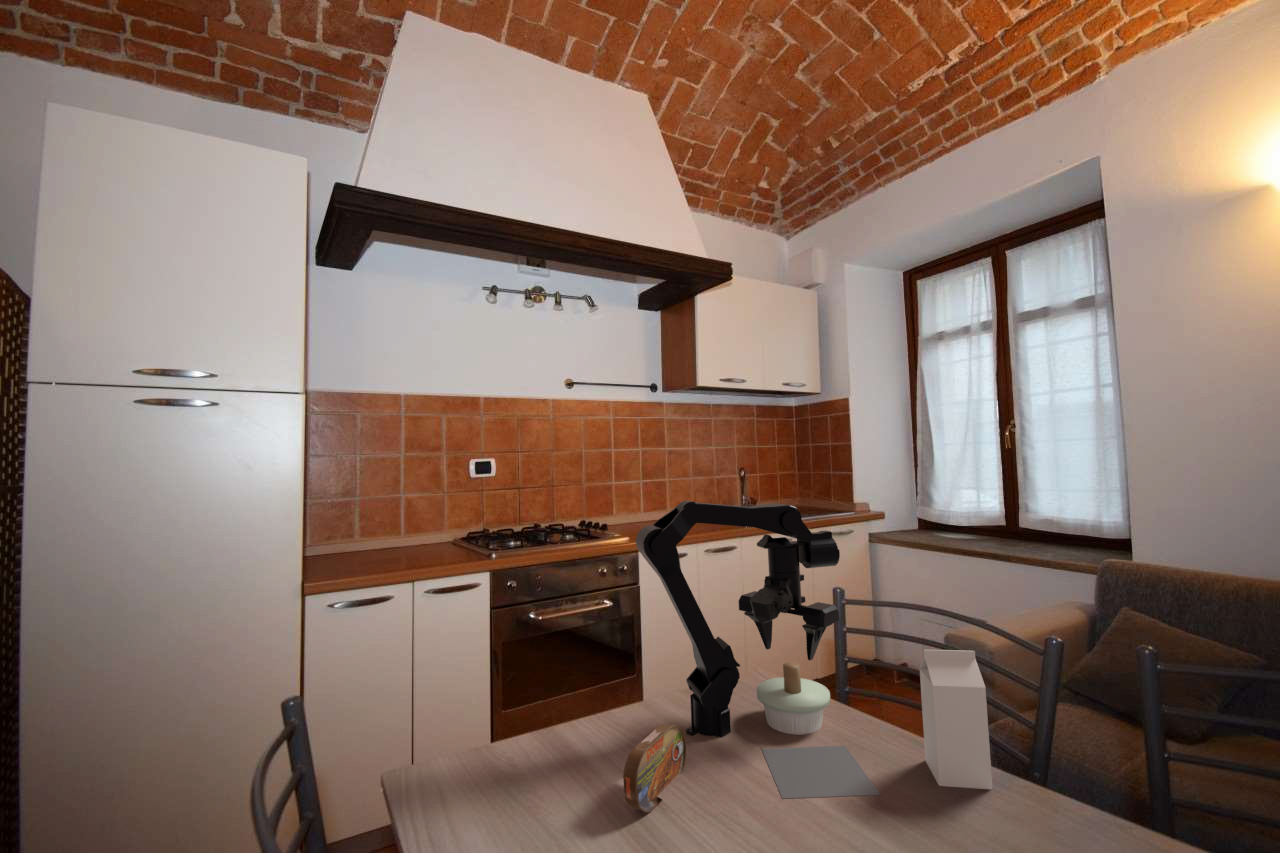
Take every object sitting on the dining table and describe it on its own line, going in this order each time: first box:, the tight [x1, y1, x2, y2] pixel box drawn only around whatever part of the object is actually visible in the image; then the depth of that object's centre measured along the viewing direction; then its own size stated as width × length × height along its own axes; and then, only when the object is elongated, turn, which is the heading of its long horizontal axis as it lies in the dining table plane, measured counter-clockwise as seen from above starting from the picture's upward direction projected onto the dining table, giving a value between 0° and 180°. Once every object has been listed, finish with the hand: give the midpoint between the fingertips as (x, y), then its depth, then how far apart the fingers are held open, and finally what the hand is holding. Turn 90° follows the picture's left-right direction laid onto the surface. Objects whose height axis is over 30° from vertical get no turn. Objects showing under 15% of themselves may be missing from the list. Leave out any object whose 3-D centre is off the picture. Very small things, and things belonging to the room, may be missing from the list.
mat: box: [761, 745, 881, 800], centre depth 89 cm, size 14×14×1 cm
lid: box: [756, 662, 831, 713], centre depth 105 cm, size 13×13×6 cm
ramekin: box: [763, 704, 824, 736], centre depth 105 cm, size 11×11×5 cm
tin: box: [622, 724, 687, 813], centre depth 86 cm, size 15×3×8 cm, turn 149°
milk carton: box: [919, 649, 993, 790], centre depth 87 cm, size 7×7×19 cm
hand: (788, 654), depth 108 cm, fingers open, 9 cm apart
